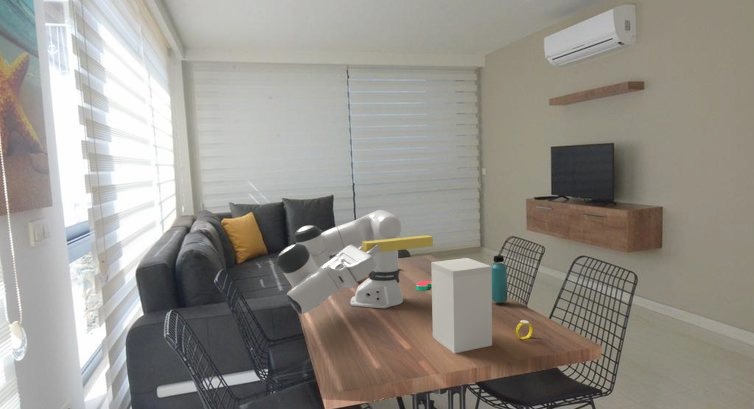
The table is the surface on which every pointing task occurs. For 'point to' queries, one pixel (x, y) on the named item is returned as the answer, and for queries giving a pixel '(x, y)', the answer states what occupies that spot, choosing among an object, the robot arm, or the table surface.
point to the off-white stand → (462, 304)
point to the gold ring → (522, 322)
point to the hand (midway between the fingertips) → (376, 244)
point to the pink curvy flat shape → (423, 285)
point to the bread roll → (362, 280)
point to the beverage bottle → (499, 280)
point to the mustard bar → (399, 243)
